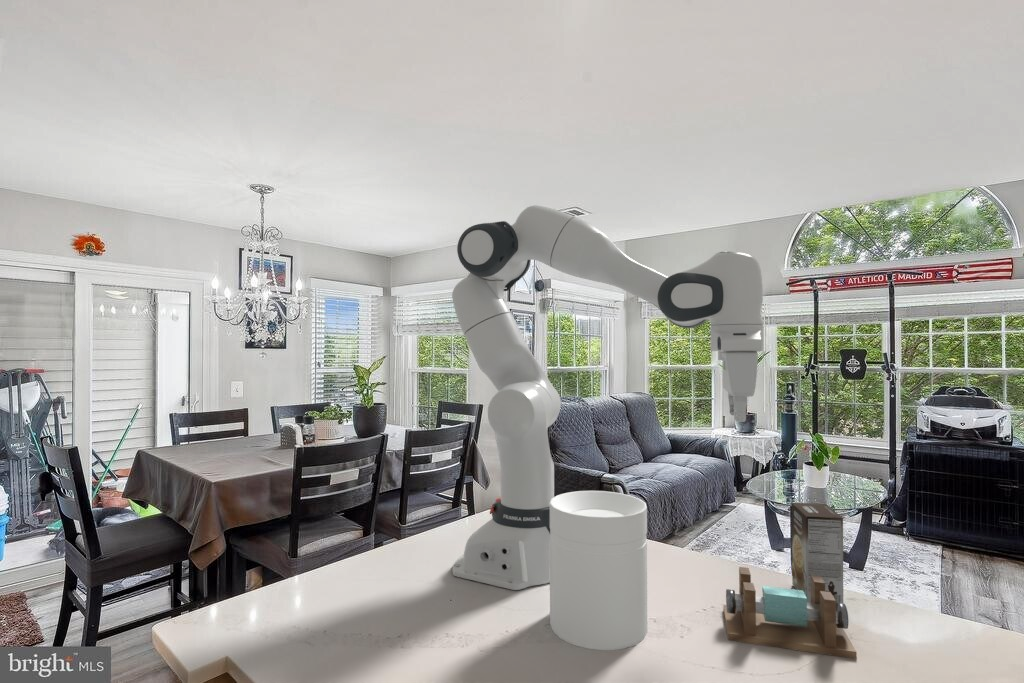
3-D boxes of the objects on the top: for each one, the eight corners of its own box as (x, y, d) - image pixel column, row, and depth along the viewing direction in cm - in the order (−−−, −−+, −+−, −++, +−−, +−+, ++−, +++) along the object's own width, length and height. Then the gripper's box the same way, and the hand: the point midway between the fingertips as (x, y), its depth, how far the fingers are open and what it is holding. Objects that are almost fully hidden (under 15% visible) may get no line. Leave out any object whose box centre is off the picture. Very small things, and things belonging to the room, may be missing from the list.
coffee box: (790, 584, 105) (789, 501, 106) (826, 587, 104) (825, 503, 104) (806, 606, 96) (805, 515, 97) (846, 609, 95) (845, 517, 95)
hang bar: (727, 617, 88) (727, 589, 88) (726, 607, 92) (725, 580, 92) (848, 633, 83) (848, 604, 83) (842, 622, 86) (841, 594, 87)
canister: (651, 609, 95) (651, 495, 96) (642, 658, 80) (641, 522, 80) (562, 596, 100) (562, 487, 101) (538, 639, 85) (538, 511, 86)
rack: (728, 639, 85) (727, 588, 85) (723, 610, 95) (723, 564, 95) (856, 658, 80) (855, 603, 80) (838, 625, 89) (837, 576, 90)
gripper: (714, 342, 109) (715, 411, 109) (721, 340, 90) (722, 424, 90) (748, 342, 107) (749, 412, 107) (763, 340, 88) (764, 426, 88)
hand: (737, 418), depth 98 cm, fingers open, 8 cm apart
